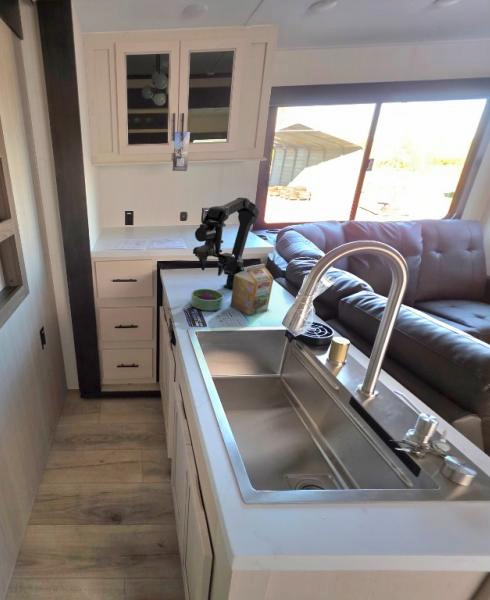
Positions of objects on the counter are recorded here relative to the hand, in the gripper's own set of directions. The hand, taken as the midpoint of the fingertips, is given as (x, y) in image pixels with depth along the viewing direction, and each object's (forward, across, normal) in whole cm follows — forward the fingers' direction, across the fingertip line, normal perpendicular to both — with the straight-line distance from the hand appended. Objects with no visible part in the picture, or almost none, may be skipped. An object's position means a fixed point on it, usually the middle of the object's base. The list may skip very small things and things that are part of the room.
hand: (210, 272), depth 139 cm
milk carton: (+12, +18, +5) cm, 22 cm away
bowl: (+12, +5, -7) cm, 15 cm away
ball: (+9, +5, -7) cm, 12 cm away
